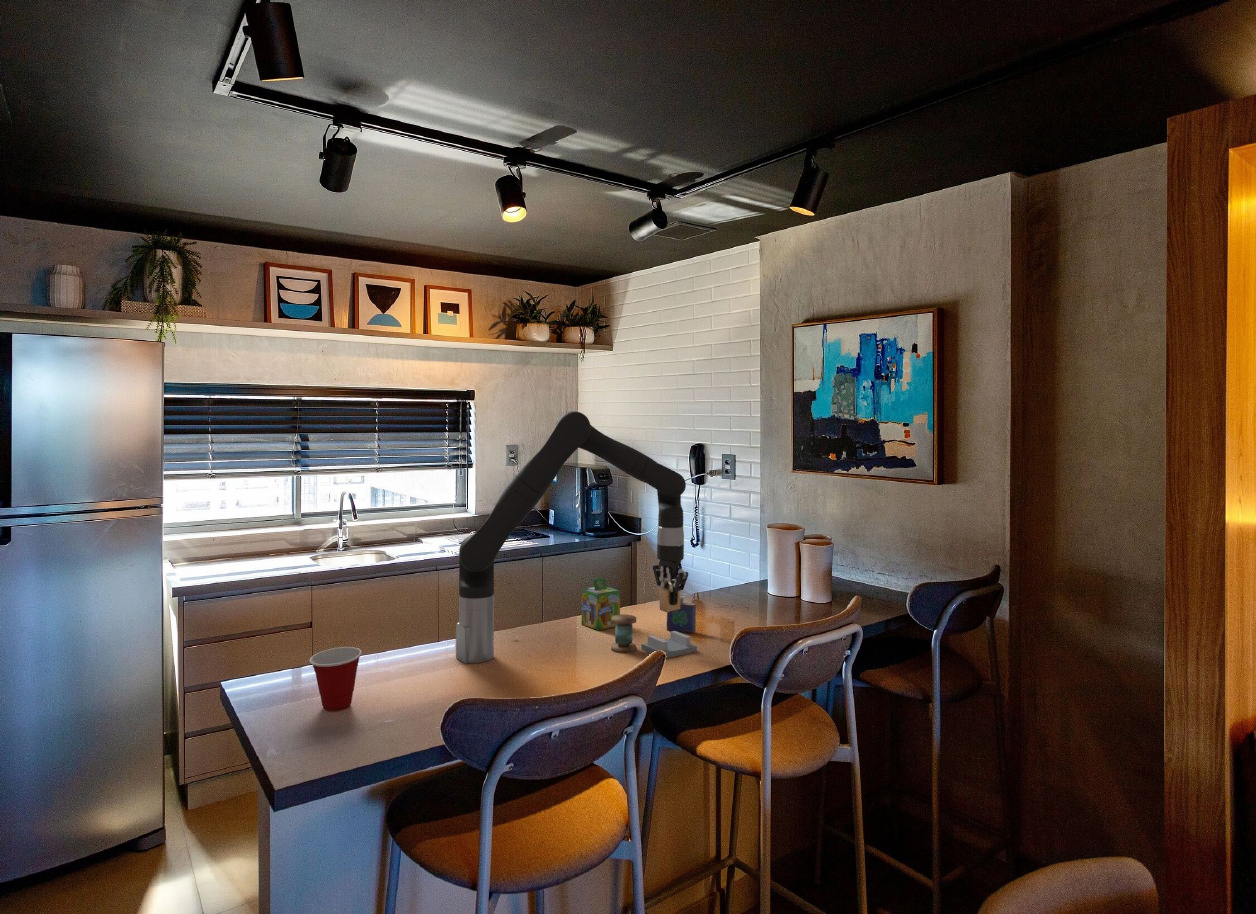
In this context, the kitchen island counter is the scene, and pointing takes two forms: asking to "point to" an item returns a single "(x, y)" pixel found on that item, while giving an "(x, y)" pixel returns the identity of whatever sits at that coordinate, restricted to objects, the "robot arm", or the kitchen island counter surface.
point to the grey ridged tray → (670, 644)
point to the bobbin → (623, 633)
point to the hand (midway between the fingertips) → (669, 603)
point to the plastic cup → (336, 676)
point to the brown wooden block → (667, 600)
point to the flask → (682, 618)
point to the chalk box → (600, 606)
